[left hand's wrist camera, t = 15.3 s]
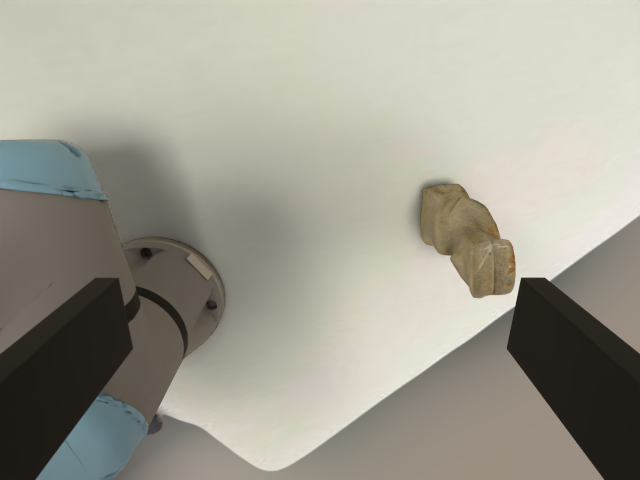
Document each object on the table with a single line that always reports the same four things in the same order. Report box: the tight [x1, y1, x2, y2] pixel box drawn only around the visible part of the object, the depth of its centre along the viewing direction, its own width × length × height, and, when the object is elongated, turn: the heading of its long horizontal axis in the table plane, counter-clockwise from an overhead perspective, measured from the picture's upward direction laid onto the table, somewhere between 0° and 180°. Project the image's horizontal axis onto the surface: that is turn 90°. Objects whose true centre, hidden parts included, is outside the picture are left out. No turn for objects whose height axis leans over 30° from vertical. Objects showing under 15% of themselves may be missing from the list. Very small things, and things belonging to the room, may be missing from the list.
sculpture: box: [421, 184, 515, 298], centre depth 36 cm, size 6×7×15 cm
